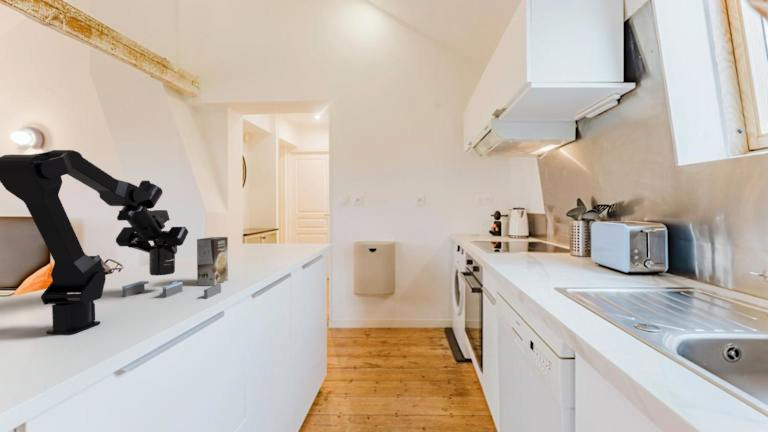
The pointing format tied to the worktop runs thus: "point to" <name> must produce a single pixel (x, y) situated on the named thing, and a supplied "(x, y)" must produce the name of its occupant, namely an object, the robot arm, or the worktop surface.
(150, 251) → the supplement bottle
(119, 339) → the worktop surface
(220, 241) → the coffee box
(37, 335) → the worktop surface
